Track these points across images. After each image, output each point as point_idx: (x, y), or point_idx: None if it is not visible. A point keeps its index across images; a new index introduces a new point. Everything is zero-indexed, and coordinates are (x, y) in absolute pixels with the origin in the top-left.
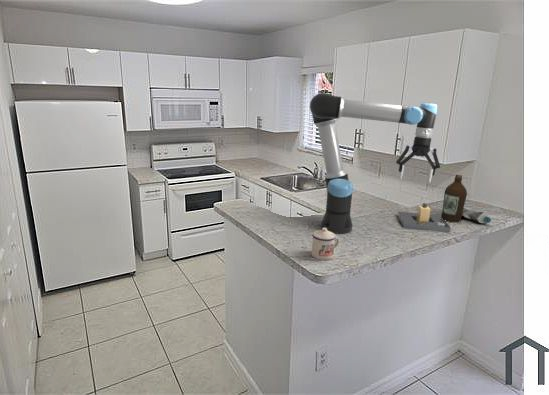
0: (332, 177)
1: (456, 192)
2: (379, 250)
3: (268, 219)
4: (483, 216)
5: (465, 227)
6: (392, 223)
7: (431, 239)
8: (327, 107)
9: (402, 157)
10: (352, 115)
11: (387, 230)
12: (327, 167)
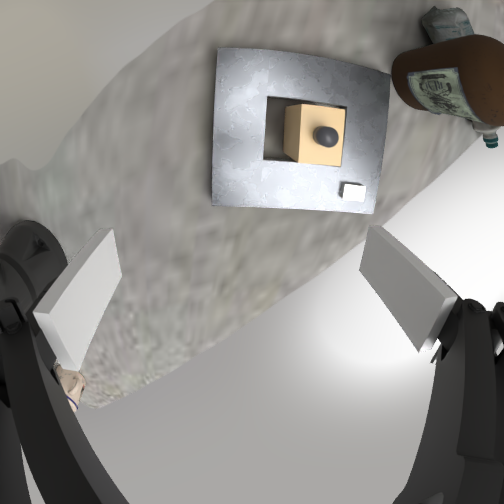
0: None
1: (491, 118)
2: (144, 357)
3: None
4: (491, 132)
5: (430, 151)
6: (179, 158)
7: (282, 279)
8: None
9: (11, 452)
10: None
11: (156, 239)
12: None
